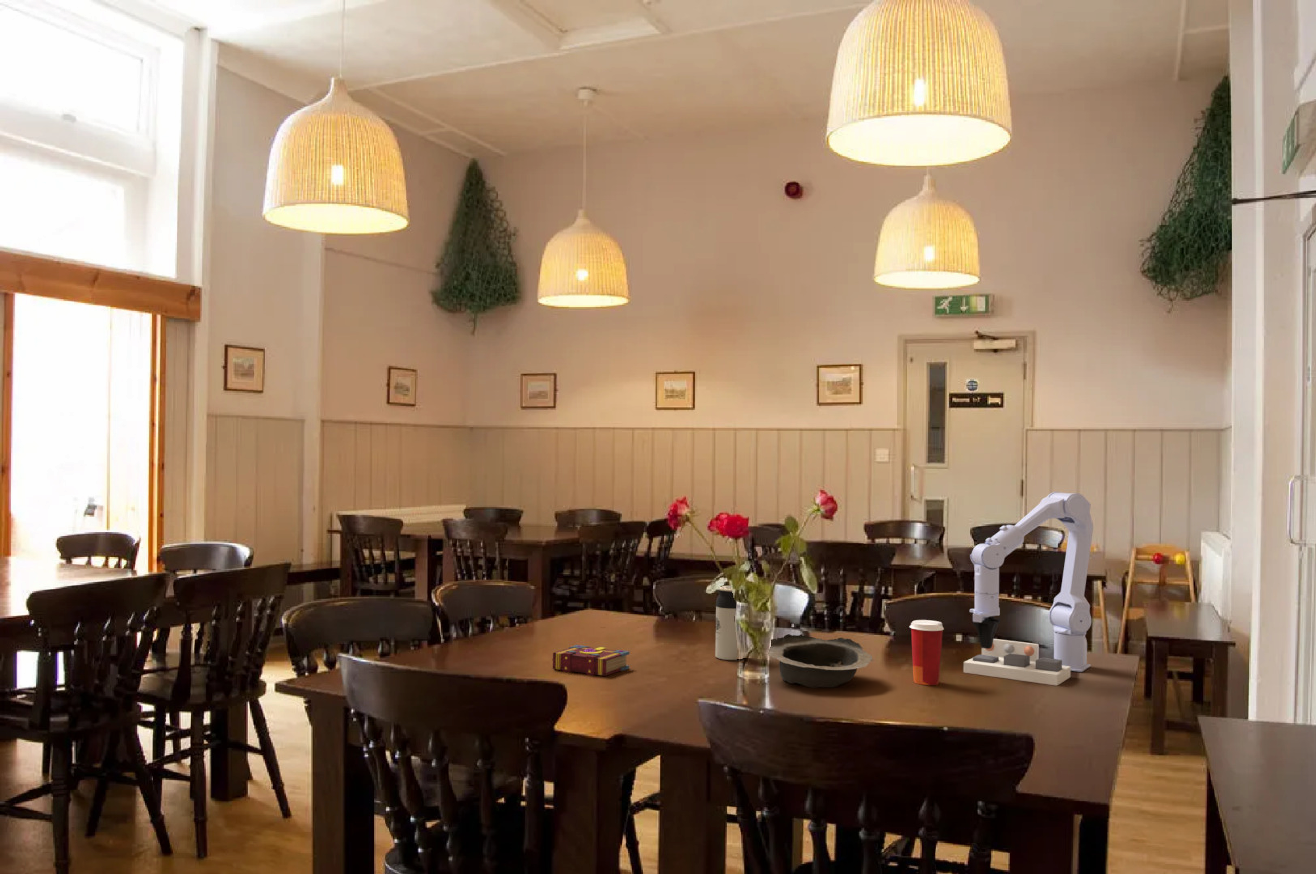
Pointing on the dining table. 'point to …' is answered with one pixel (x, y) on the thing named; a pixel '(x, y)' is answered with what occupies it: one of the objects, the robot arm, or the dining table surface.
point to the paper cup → (926, 651)
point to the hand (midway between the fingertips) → (986, 648)
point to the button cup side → (1049, 664)
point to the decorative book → (590, 660)
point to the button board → (1017, 672)
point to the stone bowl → (817, 660)
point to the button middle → (1017, 660)
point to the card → (1012, 649)
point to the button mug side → (986, 658)
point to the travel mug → (725, 625)
